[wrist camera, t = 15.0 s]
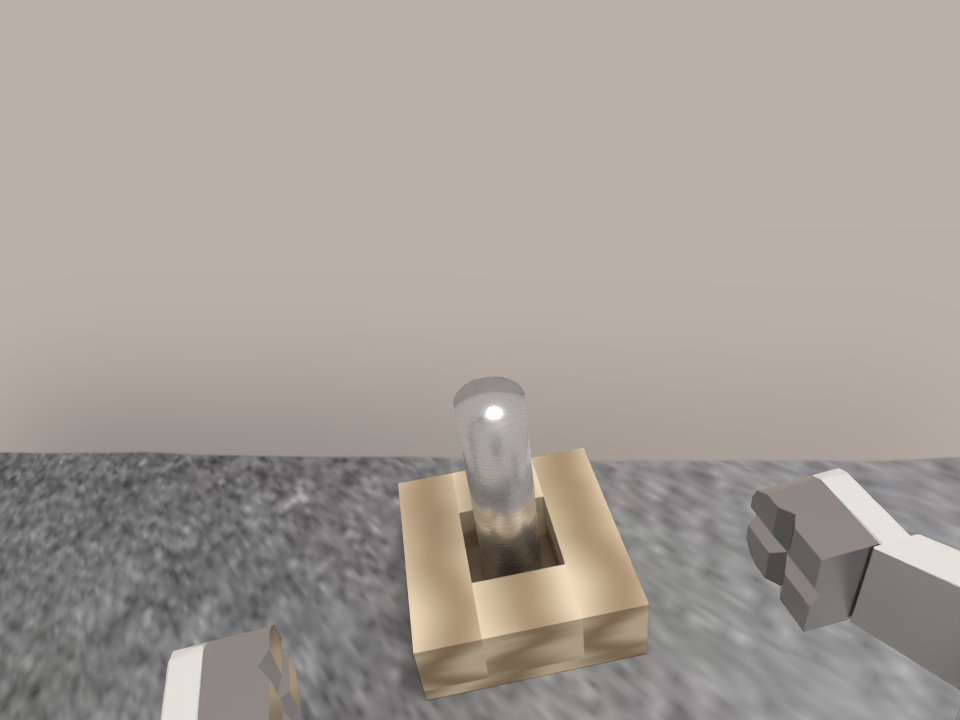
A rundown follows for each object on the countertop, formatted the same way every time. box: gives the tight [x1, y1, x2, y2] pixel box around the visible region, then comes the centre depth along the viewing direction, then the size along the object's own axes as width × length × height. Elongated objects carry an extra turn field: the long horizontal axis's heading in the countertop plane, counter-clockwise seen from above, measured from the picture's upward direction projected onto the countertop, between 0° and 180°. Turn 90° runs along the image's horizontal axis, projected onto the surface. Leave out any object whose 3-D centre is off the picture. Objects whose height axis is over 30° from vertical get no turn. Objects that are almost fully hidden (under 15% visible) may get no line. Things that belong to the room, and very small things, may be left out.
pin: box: [454, 377, 542, 580], centre depth 44 cm, size 4×4×16 cm
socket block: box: [398, 448, 649, 700], centre depth 48 cm, size 14×14×5 cm
